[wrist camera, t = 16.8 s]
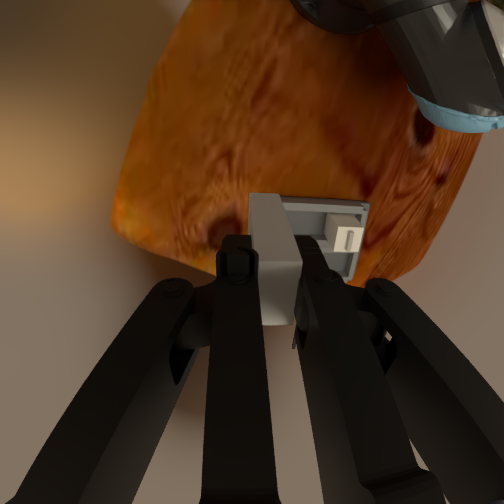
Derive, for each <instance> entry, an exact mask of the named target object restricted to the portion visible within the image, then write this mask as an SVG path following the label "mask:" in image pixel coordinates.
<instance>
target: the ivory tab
mask: <svg viewBox="0 0 504 504" xmlns="http://www.w3.org/2000/svg"><path fill="white" fill-rule="evenodd" d="M363 230H364V227H363V226H362V225H361V224H360V222H359V221H358V220H357V219H356V217H355V216H354V215H353V214H352V213H334V212H327V215H326V222H325V228H324V235H325V236H326V238H327V240H328V242H329V244H330V246H331V248H332V250H333V251H334V252H359V247H360V243H361V239H362V234H363Z"/></svg>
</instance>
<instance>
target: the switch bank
mask: <svg viewBox="0 0 504 504" xmlns="http://www.w3.org/2000/svg"><path fill="white" fill-rule="evenodd" d="M280 198H281V201H282V204H283V206H284V209H285V212H286V215H287V218H288V220H289V223H290V226H291V229H292V232H293V235H310V236H311V237H312V238H314V239H315V240H316V241H317V242H318V244H319V247H320V249H321V251H322V254H323V255H324V257H325V260H326V262H327V264H328V266H329V268H330V269H332V270H334V271H336V272H337V273H339V274H340V275H341V277H342V278H343V280H344V282H345V283H347V280H352V277H353V276H354V273H355V269H356V265H357V261H358V257H359V253H360V249H361V244H362V240H363V236H364V231H365V226H366V222H367V217H368V212H369V207H370V203H369V202H367V201H354V200H340V199H324V198H306V197H285V196H280ZM327 212H334V213H352V214H353V215H354V216H355V217H356V219H357V220H358V221H359V222H360V224H361V225H362V226H363V227H364V230H363V234H362V239H361V243H360V247H359V252H334V251H333V250H332V248H331V246H330V244H329V242H328V240H327V238H326V236H325V235H324V228H325V222H326V215H327Z"/></svg>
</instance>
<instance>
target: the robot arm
mask: <svg viewBox="0 0 504 504" xmlns="http://www.w3.org/2000/svg"><path fill="white" fill-rule="evenodd" d="M291 2H292V4H293V5H294V7H295V8H296V9H297V11H298V12H299V13H300V14H301V15H302V16H303V17H304V18H306V19H307V20H308V21H310V22H311V23H312V24H314V25H316V26H318V27H320V28H322V29H324V30H327V31H330V32H334V33H339V34H356V33H361V32H364V31H366V30H369V29H371V28H373V27H375V26H376V27H377V29H378V31H379V32H380V34H381V36H382V37H383V39H384V41H385V43H386V44H387V46H388V48H389V50H390V51H391V53H392V55H393V57H394V59H395V61H396V63H397V65H398V67H399V68H400V70H401V72H402V74H403V76H404V79H405V81H406V86H407V88H408V90H409V91H410V93H411V94H412V95H413V96H414V98H415V100H416V102H417V104H418V106H419V109H420V111H421V112H422V114H423V115H424V117H425V118H427V119H428V120H430V121H431V122H432V123H433V124H435V125H437V126H439V127H441V128H444V129H447V130H451V131H457V132H465V133H481V132H488V131H490V130H491V128H494V129H500V128H502V127H504V11H502V10H500V9H499V8H497V7H496V6H494V5H492V4H491V3H489V2H487V1H485V0H481V1H476V2H469V1H468V0H291ZM428 7H429V8H428ZM418 10H419V11H418ZM415 11H416V12H415ZM412 12H413V13H412ZM409 13H410V14H409ZM406 14H407V15H406ZM403 15H404V16H403ZM400 16H401V17H400ZM397 17H398V18H397ZM394 18H395V19H394ZM389 20H390V21H389ZM386 21H387V22H386ZM383 22H384V23H383ZM381 23H382V24H381ZM216 275H217V278H216V279H215V280H214V281H213V282H211V283H209V284H207V285H204V286H201V287H195V288H194V287H193V285H192V284H191V283H190V282H189V281H188V280H185V279H182V278H169V279H165V280H162V281H160V282H158V283H157V284H156V285H155V286H154V287H153V288H152V289H151V291H150V292H149V293H148V295H147V296H146V297H145V299H144V300H143V301H142V302H141V304H140V305H139V307H138V308H137V309H136V310H135V312H134V313H133V314H132V316H131V317H130V319H129V320H128V321H127V323H126V324H125V325H124V327H123V328H122V329H121V331H120V332H119V334H118V335H117V336H116V338H115V339H114V341H113V342H112V343H111V345H110V346H109V347H108V349H107V350H106V352H105V353H104V354H103V356H102V357H101V359H100V360H99V362H98V363H97V364H96V366H95V367H94V369H93V370H92V372H91V373H90V375H89V376H88V378H87V379H86V380H85V382H84V383H83V385H82V386H81V388H80V389H79V391H78V392H77V394H76V395H75V397H74V398H73V400H72V401H71V403H70V404H69V406H68V407H67V409H66V411H65V412H64V414H63V415H62V417H61V418H60V420H59V422H58V423H57V425H56V426H55V428H54V429H53V431H52V433H51V434H50V436H49V438H48V439H47V441H46V442H45V444H44V446H43V447H42V449H41V451H40V452H39V454H38V456H37V457H36V459H35V461H34V463H33V464H32V466H31V468H30V469H29V471H28V473H27V475H26V476H25V478H24V480H23V482H22V484H21V486H20V487H19V489H18V491H17V493H16V495H15V496H14V497H13V498H12V499H10V500H9V501H8V502H7V503H5V504H132V502H133V500H134V497H135V495H136V493H137V490H138V488H139V486H140V483H141V481H142V479H143V477H144V474H145V472H146V470H147V467H148V465H149V463H150V461H151V458H152V456H153V454H154V452H155V449H156V447H157V445H158V443H159V440H160V438H161V436H162V434H163V431H164V429H165V427H166V425H167V422H168V420H169V418H170V416H171V413H172V411H173V409H174V407H175V404H176V402H177V400H178V398H179V395H180V393H181V391H182V388H183V386H184V384H185V382H186V380H187V378H188V375H189V373H190V371H191V369H192V366H193V364H194V362H195V360H196V357H197V355H198V353H199V349H200V348H201V347H205V346H210V354H209V355H210V356H209V367H208V380H207V394H206V410H205V426H204V444H203V465H202V489H201V499H200V502H199V504H281V501H280V499H279V496H278V490H277V489H278V488H277V478H276V467H275V456H274V446H273V434H272V423H271V412H270V402H269V390H268V380H267V369H266V358H265V348H264V337H263V327H262V325H292V324H293V319H294V314H295V319H296V328H295V333H294V338H293V344H292V349H295V346H296V344H297V349H298V355H299V360H300V365H301V370H302V375H303V381H304V387H305V392H306V397H307V403H308V409H309V414H310V420H311V425H312V432H313V438H314V443H315V450H316V455H317V462H318V467H319V474H320V480H321V486H322V493H323V499H324V504H446V501H445V498H444V495H445V497H446V498H447V500H448V501H449V503H450V504H504V402H503V401H502V400H501V399H500V397H499V396H498V395H497V394H496V392H495V391H494V390H493V389H492V388H491V386H490V385H489V384H488V383H487V382H486V380H485V379H484V378H483V377H482V375H480V373H479V372H478V371H477V370H476V369H475V368H474V366H473V365H472V364H471V363H470V362H469V360H468V359H467V358H466V357H465V356H464V355H463V354H462V353H461V351H459V349H458V348H457V347H456V346H455V345H454V344H453V342H451V340H450V339H449V338H448V337H447V336H446V335H445V334H444V333H443V332H442V331H441V329H440V328H439V327H438V326H437V325H436V324H435V323H434V322H433V321H432V320H431V319H430V318H429V317H428V316H427V315H426V314H425V313H424V312H423V311H422V310H421V309H420V307H418V305H416V303H415V302H414V301H413V300H412V299H410V297H409V296H408V295H406V294H405V292H403V291H402V289H401V288H400V287H398V286H397V285H396V284H395V283H393V282H391V281H389V280H387V279H383V278H373V279H370V280H368V281H367V283H366V285H365V288H360V287H355V286H351V285H347V284H345V282H344V280H343V278H342V277H341V275H340V274H339V273H337V272H336V271H334V270H332V269H330V268H329V266H328V264H327V262H326V260H325V257H324V255H323V254H322V251H321V249H320V247H319V244H318V242H317V241H316V240H315V239H314V238H312V237H311V236H310V235H293V232H292V229H291V226H290V223H289V220H288V218H287V215H286V212H285V209H284V206H283V204H282V201H281V198H280V195H279V194H273V193H249V217H248V235H227V236H226V237H225V238H224V239H223V240H222V248H221V249H220V250H219V251H218V252H217V254H216ZM387 331H388V333H389V334H390V335H391V336H392V339H391V341H389V340H388V339H387V338H386V337H385V335H386V333H387ZM408 437H409V438H408ZM409 439H410V440H411V442H412V444H413V445H414V447H415V448H416V450H417V451H418V453H419V455H420V456H421V458H422V459H423V461H424V463H425V464H426V466H427V467H428V469H429V471H427V470H424V469H421V468H420V467H419V466H418V464H417V462H416V459H415V456H414V453H413V450H412V447H411V444H410V441H409ZM443 493H444V494H443Z"/></svg>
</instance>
